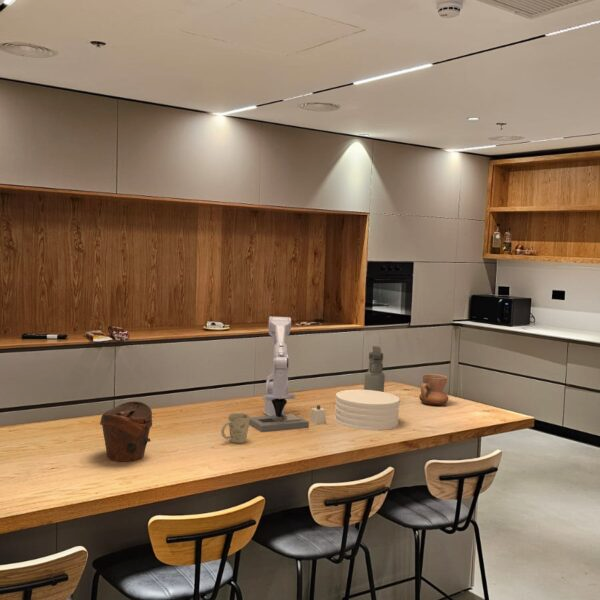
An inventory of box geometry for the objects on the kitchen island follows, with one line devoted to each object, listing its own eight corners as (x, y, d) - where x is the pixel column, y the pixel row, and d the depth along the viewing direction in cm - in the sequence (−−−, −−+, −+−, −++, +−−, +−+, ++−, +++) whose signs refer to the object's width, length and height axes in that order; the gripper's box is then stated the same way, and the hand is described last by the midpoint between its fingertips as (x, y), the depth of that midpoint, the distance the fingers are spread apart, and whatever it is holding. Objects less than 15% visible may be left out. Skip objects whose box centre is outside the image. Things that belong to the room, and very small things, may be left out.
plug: (310, 421, 307) (311, 405, 306) (320, 421, 309) (321, 404, 309) (315, 424, 303) (316, 407, 303) (325, 423, 306) (326, 406, 305)
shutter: (275, 416, 302) (276, 411, 301) (292, 415, 305) (292, 410, 305) (284, 421, 295) (284, 416, 294) (301, 420, 298) (301, 415, 298)
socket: (247, 423, 299) (247, 417, 298) (292, 419, 309) (293, 413, 309) (261, 432, 287) (261, 426, 286) (308, 427, 297) (308, 421, 297)
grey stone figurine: (384, 406, 343) (387, 349, 340) (363, 405, 343) (367, 348, 341) (381, 401, 353) (385, 346, 351) (362, 400, 353) (365, 345, 351)
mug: (253, 441, 273) (254, 416, 272) (228, 447, 264) (230, 421, 263) (238, 436, 278) (240, 411, 277) (214, 442, 269) (215, 416, 268)
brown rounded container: (102, 467, 234) (105, 414, 233) (94, 449, 252) (97, 400, 251) (156, 463, 241) (159, 412, 240) (144, 447, 259) (147, 399, 258)
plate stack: (360, 433, 293) (361, 406, 292) (322, 417, 317) (323, 392, 316) (411, 426, 308) (412, 401, 307) (371, 411, 332) (372, 387, 331)
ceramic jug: (434, 398, 366) (435, 371, 365) (455, 404, 354) (457, 376, 353) (409, 402, 355) (410, 375, 354) (430, 409, 344) (432, 380, 342)
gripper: (268, 387, 289) (266, 420, 291) (299, 385, 296) (297, 417, 298) (261, 384, 296) (259, 415, 297) (291, 382, 303) (290, 413, 304)
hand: (278, 416), depth 298 cm, fingers closed
